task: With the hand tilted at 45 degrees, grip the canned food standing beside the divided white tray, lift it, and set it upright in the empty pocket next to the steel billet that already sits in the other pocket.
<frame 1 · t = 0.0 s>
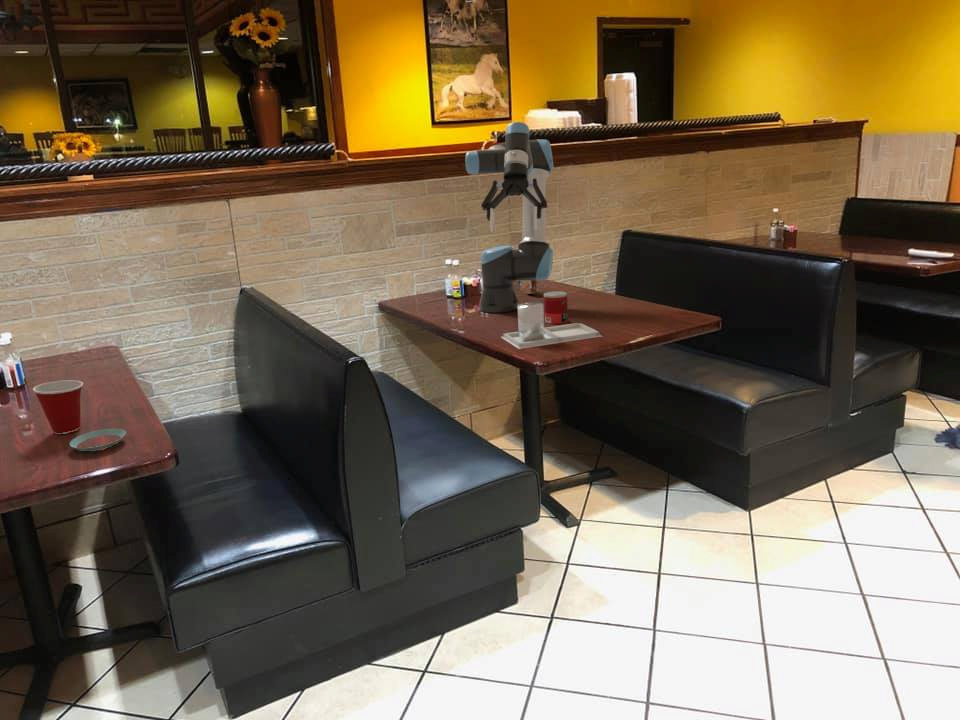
hand: (513, 228, 229), 36 cm above the table, tool tilted 35°, fingers open, 13 cm apart
saucer: (100, 447, 174), on the table
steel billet: (531, 339, 235), point 1 cm above the table, touching divided white tray
divided white tray: (550, 341, 237), on the table
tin: (528, 293, 311), on the table
canned food: (556, 325, 257), on the table
plastic cup: (68, 431, 185), on the table
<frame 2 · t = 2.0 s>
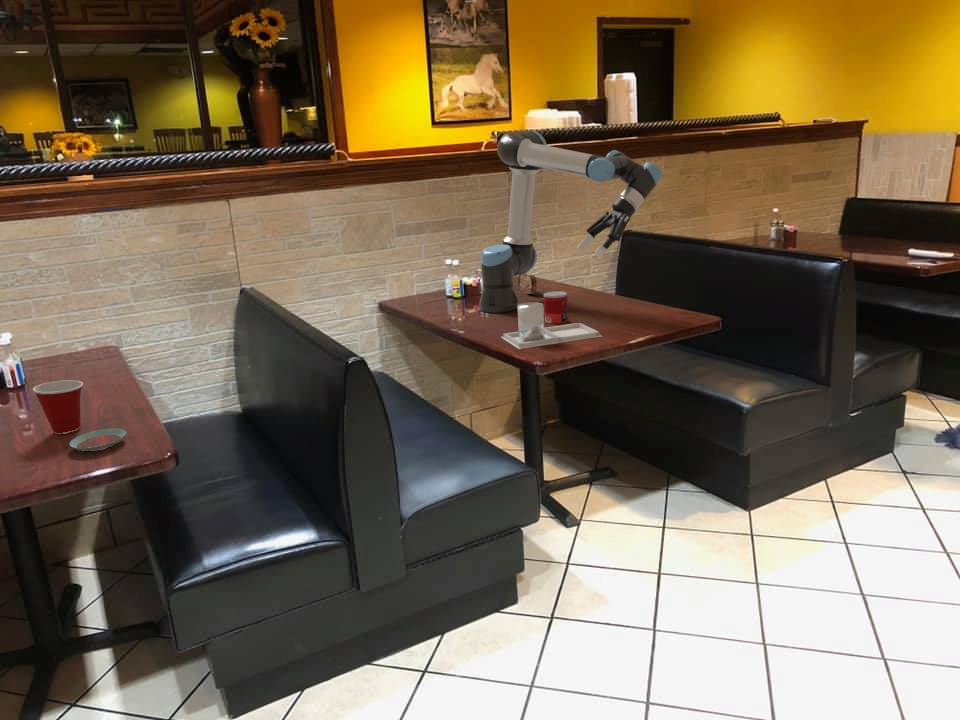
hand: (588, 252, 253), 24 cm above the table, tool tilted 45°, fingers open, 13 cm apart
nothing on the table moved.
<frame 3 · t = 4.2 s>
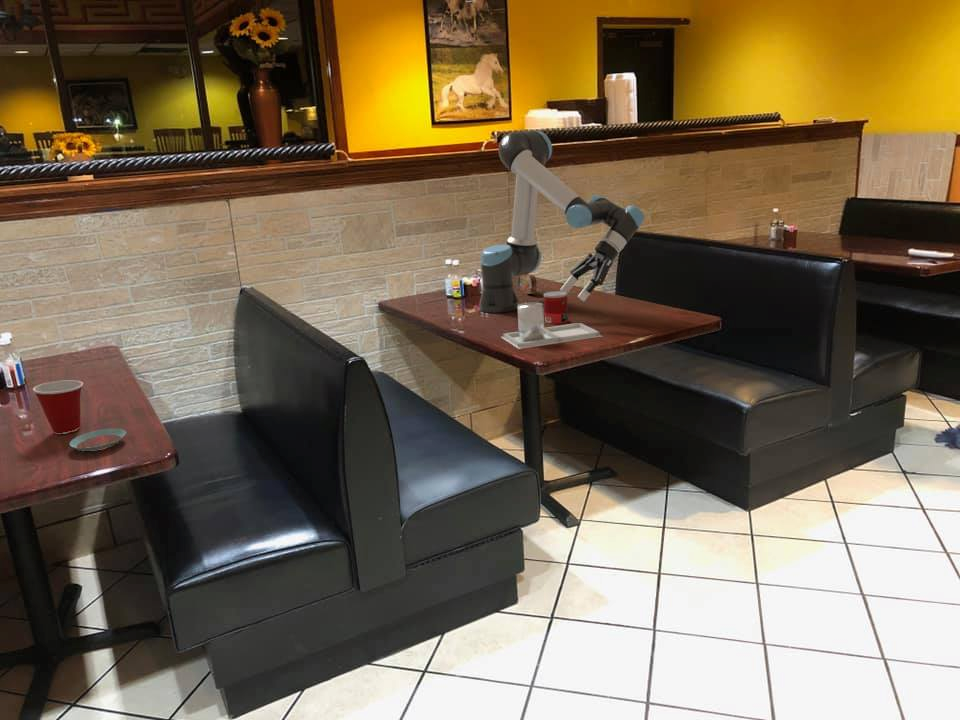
hand: (571, 295, 254), 10 cm above the table, tool tilted 45°, fingers open, 13 cm apart
nothing on the table moved.
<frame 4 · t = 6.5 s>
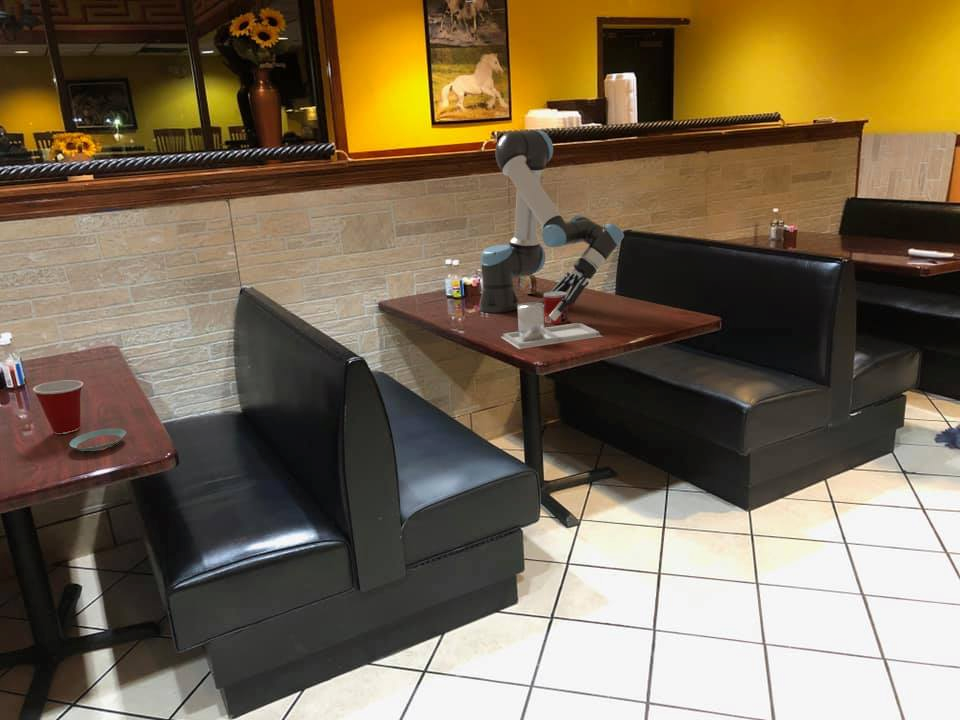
hand: (546, 315, 255), 4 cm above the table, tool tilted 45°, fingers closed on canned food, 8 cm apart
canned food: (556, 325, 257), on the table, touching gripper
everything else where it was.
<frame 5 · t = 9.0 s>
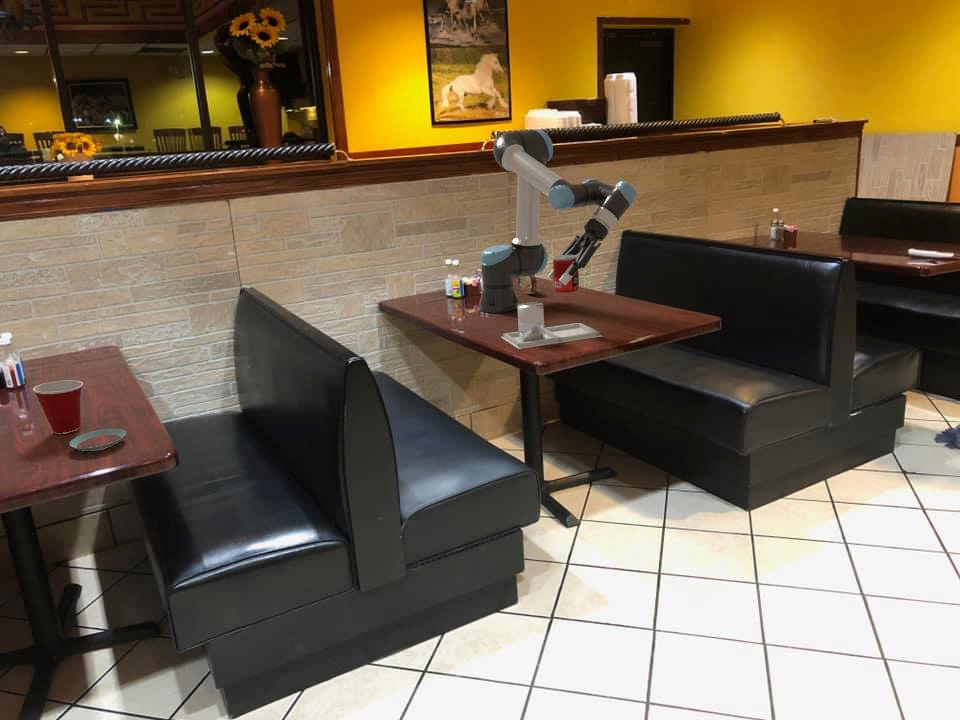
hand: (556, 280, 240), 18 cm above the table, tool tilted 45°, fingers closed on canned food, 8 cm apart
canned food: (566, 291, 242), point 14 cm above the table, touching gripper
everything else where it was.
when the fingers open (7 cm above the table, at t = 11.7 s): canned food drops 2 cm, resting on divided white tray.
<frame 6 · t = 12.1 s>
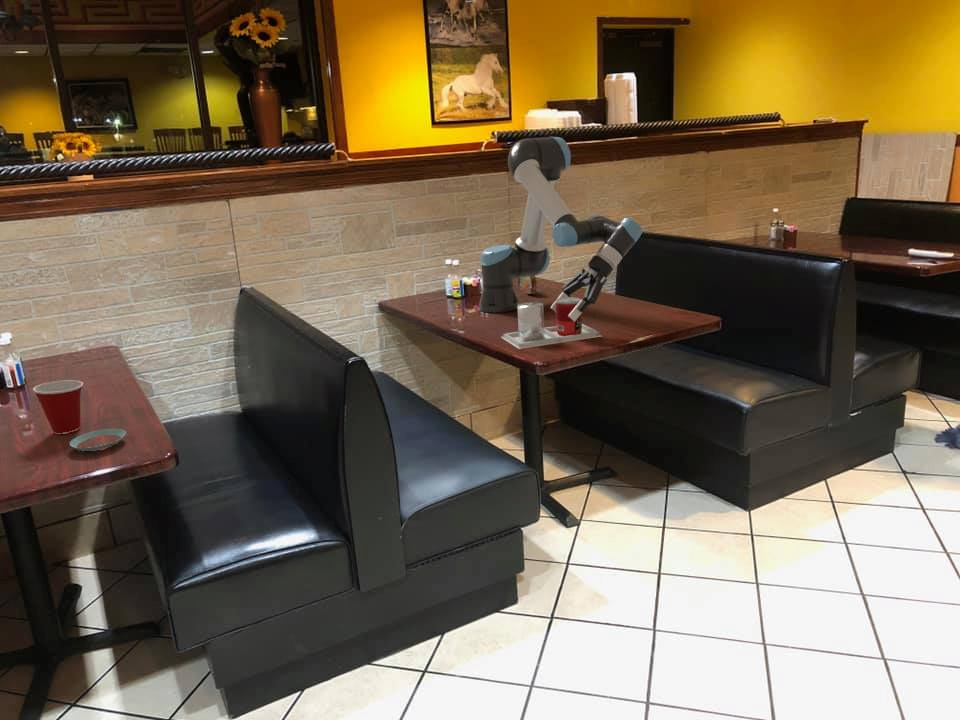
hand: (562, 314, 236), 8 cm above the table, tool tilted 45°, fingers open, 13 cm apart
canned food: (569, 334, 239), point 1 cm above the table, touching divided white tray
everything else where it was.
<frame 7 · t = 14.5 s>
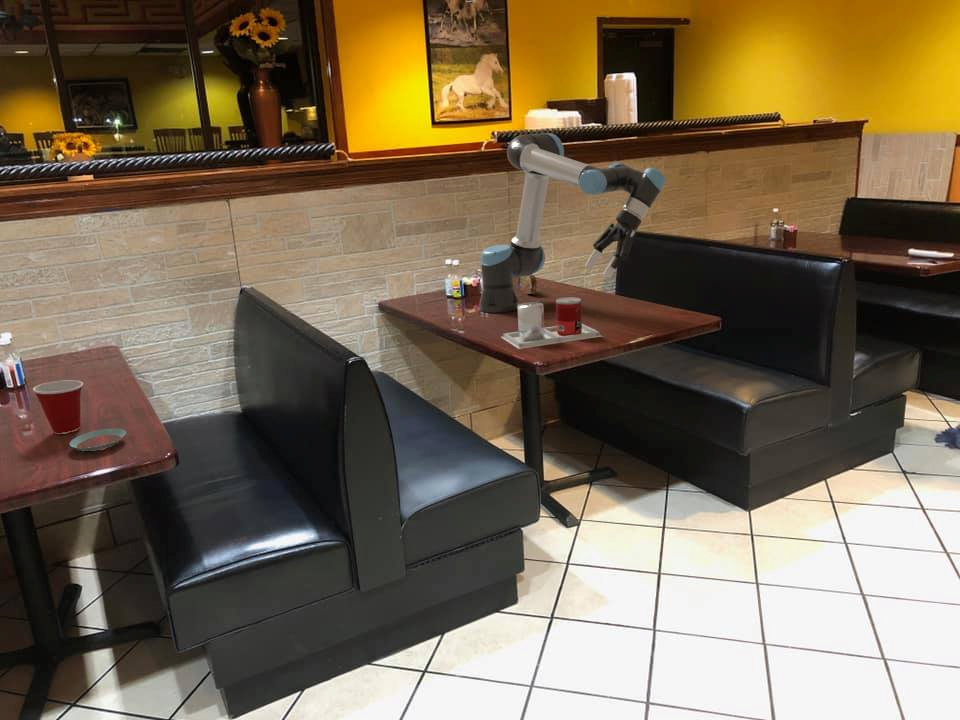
hand: (596, 272, 242), 19 cm above the table, tool tilted 35°, fingers open, 13 cm apart
nothing on the table moved.
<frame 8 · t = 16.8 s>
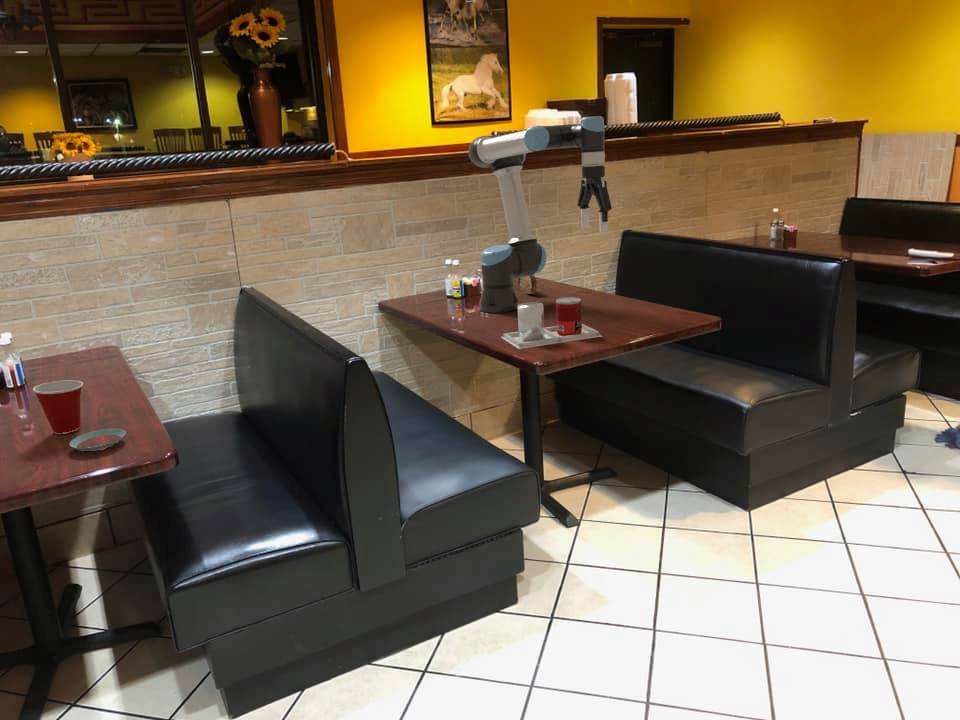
hand: (594, 229, 254), 31 cm above the table, tool pointing down, fingers open, 13 cm apart
nothing on the table moved.
at the end: canned food inside the target area on the divided white tray (0.3 cm from its centre), point 1.3 cm above the divided white tray's base; canned food tilted 0°; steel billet moved 0.0 cm from its start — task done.
